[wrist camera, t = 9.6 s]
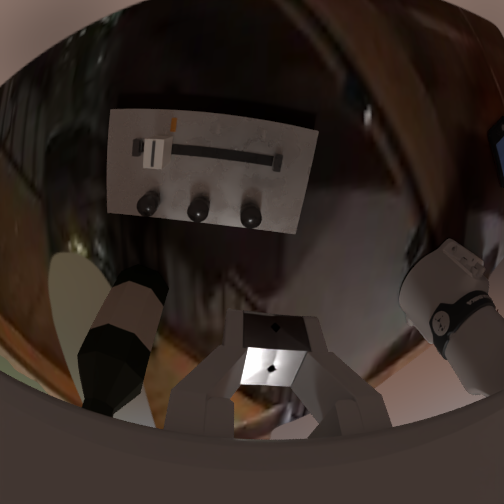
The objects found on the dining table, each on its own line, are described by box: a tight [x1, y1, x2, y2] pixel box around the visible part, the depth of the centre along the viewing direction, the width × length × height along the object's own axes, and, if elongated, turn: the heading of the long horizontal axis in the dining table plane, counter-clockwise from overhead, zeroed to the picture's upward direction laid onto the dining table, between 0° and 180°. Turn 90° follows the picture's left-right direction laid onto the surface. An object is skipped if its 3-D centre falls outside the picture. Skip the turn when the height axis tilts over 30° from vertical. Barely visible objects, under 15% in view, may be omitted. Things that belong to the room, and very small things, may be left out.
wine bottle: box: [77, 265, 169, 418], centre depth 26 cm, size 8×8×30 cm
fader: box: [143, 135, 173, 169], centre depth 26 cm, size 2×3×4 cm, turn 170°
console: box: [107, 109, 319, 234], centre depth 30 cm, size 24×13×4 cm, turn 81°
